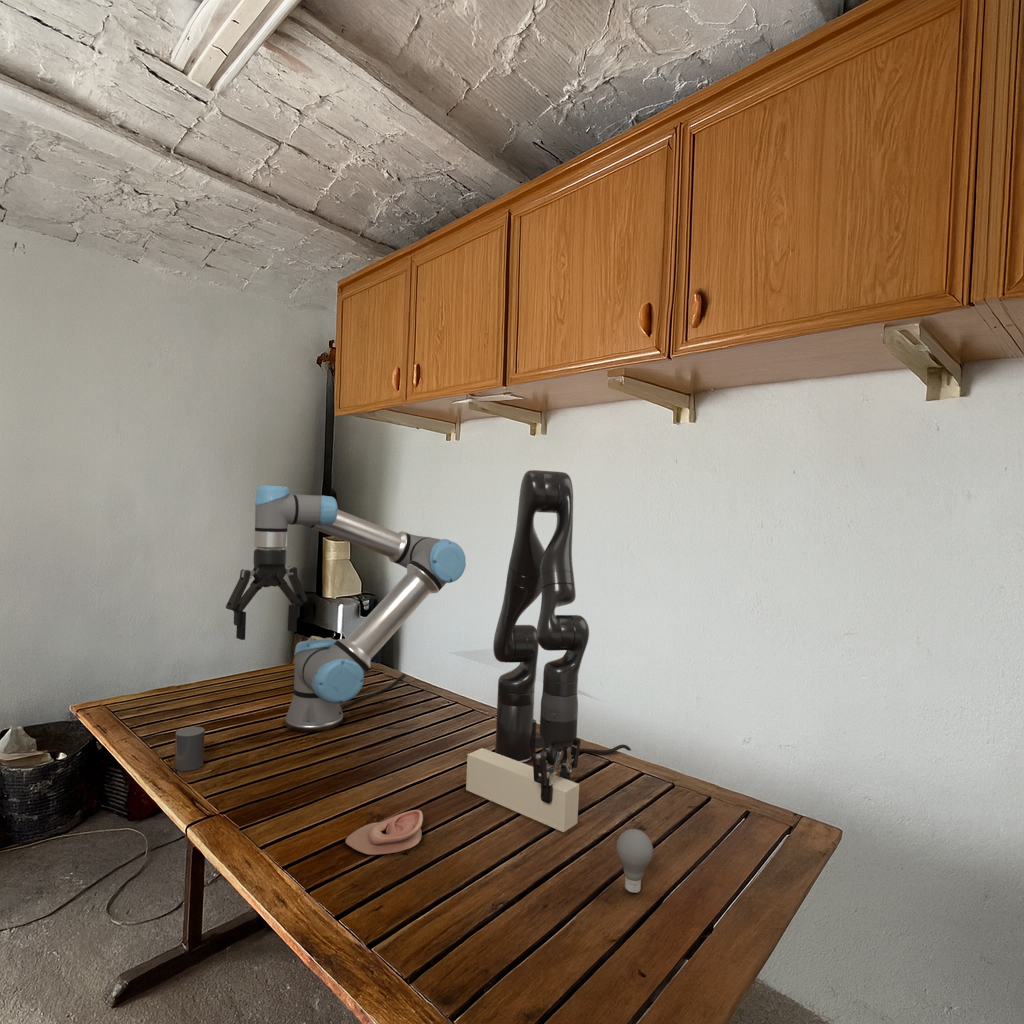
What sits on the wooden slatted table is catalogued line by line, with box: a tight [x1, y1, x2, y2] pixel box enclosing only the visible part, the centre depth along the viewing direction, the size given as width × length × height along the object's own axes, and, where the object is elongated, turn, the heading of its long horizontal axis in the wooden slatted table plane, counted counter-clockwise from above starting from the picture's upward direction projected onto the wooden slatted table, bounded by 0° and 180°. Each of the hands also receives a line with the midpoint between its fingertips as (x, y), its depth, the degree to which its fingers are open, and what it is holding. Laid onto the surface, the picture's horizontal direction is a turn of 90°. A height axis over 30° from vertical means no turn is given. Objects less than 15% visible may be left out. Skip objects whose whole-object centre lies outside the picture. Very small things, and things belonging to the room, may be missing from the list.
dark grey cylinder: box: [173, 726, 206, 772], centre depth 146 cm, size 6×6×8 cm
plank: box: [465, 747, 580, 833], centre depth 134 cm, size 26×5×8 cm, turn 52°
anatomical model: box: [344, 809, 424, 856], centre depth 118 cm, size 13×4×12 cm
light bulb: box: [615, 828, 654, 894], centre depth 106 cm, size 6×6×10 cm
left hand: (267, 635), depth 155 cm, fingers open, 13 cm apart
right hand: (555, 796), depth 128 cm, fingers open, 5 cm apart
